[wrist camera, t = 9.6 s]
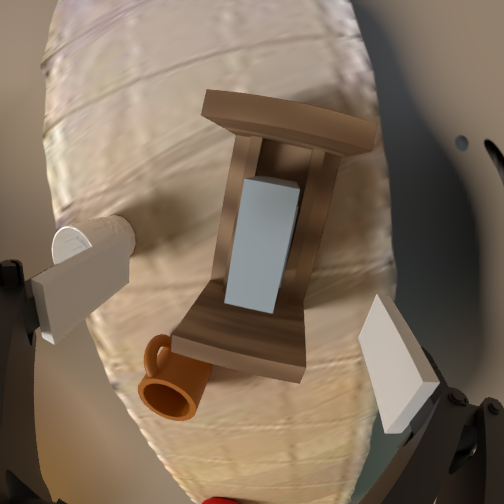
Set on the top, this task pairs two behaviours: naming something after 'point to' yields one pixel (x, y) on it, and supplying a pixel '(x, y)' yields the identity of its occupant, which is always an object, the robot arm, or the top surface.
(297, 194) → the gray rectangular block
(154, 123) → the top surface
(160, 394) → the mug
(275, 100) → the wooden frame
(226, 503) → the tomato
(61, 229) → the white cup
